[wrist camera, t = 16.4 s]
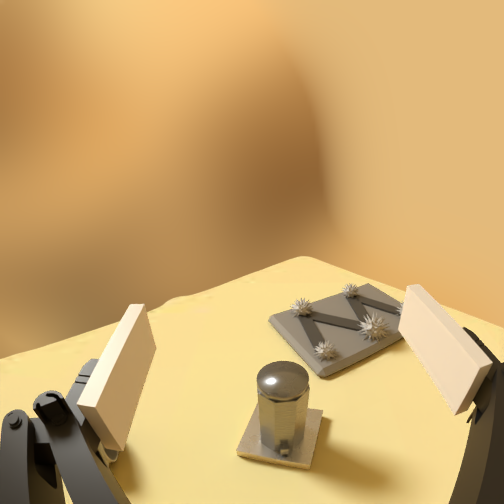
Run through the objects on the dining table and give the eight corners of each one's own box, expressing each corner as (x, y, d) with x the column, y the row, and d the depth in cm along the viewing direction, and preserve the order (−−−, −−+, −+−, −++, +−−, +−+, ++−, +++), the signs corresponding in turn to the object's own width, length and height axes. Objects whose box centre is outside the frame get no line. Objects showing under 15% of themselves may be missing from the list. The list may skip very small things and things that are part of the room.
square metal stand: (237, 455, 35) (229, 414, 31) (259, 406, 43) (256, 361, 40) (309, 469, 31) (317, 431, 28) (322, 416, 40) (329, 371, 37)
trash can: (259, 416, 40) (255, 358, 35) (298, 412, 40) (302, 354, 35) (262, 458, 33) (258, 404, 28) (306, 453, 33) (314, 399, 28)
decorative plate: (367, 289, 77) (370, 265, 74) (427, 327, 58) (434, 299, 55) (266, 323, 66) (265, 295, 64) (320, 383, 48) (323, 353, 45)
